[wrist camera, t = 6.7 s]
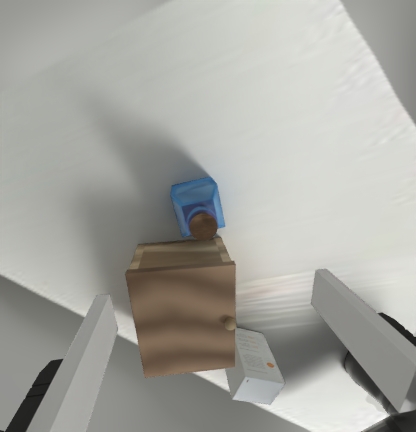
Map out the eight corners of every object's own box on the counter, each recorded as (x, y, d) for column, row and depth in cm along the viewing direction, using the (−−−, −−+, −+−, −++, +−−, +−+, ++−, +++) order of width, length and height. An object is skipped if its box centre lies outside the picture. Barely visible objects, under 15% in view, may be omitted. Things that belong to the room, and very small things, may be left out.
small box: (219, 345, 47) (230, 400, 37) (230, 324, 45) (244, 376, 35) (252, 352, 48) (271, 406, 39) (263, 332, 47) (286, 384, 37)
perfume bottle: (210, 176, 35) (225, 194, 24) (217, 212, 37) (235, 245, 26) (172, 185, 34) (168, 207, 23) (181, 221, 37) (183, 258, 25)
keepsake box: (222, 319, 44) (231, 355, 37) (151, 328, 43) (145, 368, 35) (221, 237, 38) (231, 261, 31) (138, 244, 37) (128, 271, 29)
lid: (233, 361, 36) (236, 372, 35) (145, 371, 35) (143, 383, 34) (233, 261, 30) (236, 268, 28) (127, 269, 29) (123, 277, 27)
